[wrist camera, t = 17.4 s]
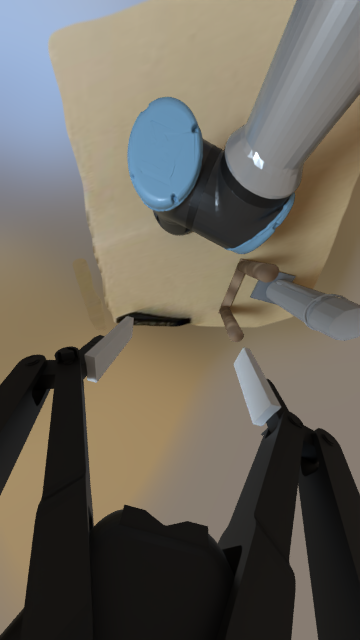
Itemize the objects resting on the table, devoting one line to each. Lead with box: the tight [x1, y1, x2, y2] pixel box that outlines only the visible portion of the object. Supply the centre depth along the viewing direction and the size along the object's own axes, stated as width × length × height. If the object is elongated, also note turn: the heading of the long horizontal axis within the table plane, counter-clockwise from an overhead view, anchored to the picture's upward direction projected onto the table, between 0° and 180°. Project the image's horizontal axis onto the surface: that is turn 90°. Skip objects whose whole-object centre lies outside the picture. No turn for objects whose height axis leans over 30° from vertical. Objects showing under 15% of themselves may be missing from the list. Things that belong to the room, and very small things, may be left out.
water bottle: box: [266, 280, 360, 341], centre depth 35 cm, size 9×8×25 cm
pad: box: [250, 272, 296, 304], centre depth 46 cm, size 10×10×1 cm
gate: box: [218, 259, 279, 342], centre depth 40 cm, size 20×4×19 cm, turn 167°
